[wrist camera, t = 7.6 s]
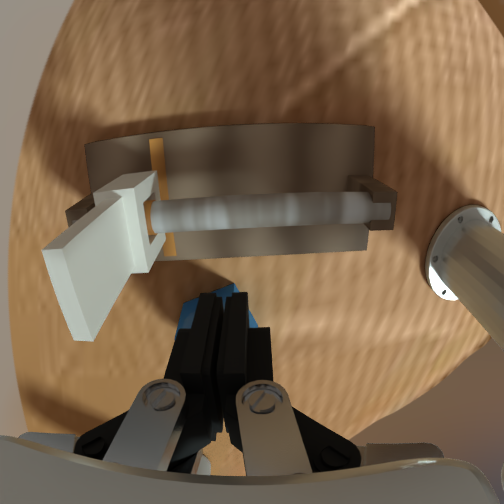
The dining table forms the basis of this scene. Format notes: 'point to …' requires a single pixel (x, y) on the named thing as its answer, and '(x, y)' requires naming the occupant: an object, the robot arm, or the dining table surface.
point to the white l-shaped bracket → (103, 252)
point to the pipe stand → (251, 188)
